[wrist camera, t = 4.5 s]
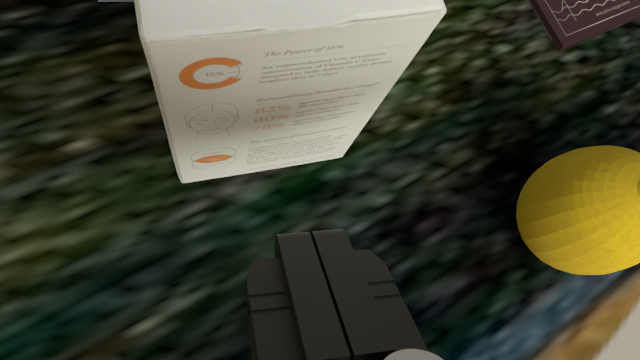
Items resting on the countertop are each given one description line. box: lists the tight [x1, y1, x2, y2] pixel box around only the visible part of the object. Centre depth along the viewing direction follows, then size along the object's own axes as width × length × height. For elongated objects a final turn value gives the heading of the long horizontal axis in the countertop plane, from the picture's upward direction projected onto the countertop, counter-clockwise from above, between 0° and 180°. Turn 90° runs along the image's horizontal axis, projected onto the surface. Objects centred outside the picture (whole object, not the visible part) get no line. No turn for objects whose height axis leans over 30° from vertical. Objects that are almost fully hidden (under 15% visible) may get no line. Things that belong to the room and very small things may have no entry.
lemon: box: [516, 146, 640, 275], centre depth 24 cm, size 6×6×8 cm
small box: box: [134, 0, 447, 183], centre depth 20 cm, size 8×6×13 cm
